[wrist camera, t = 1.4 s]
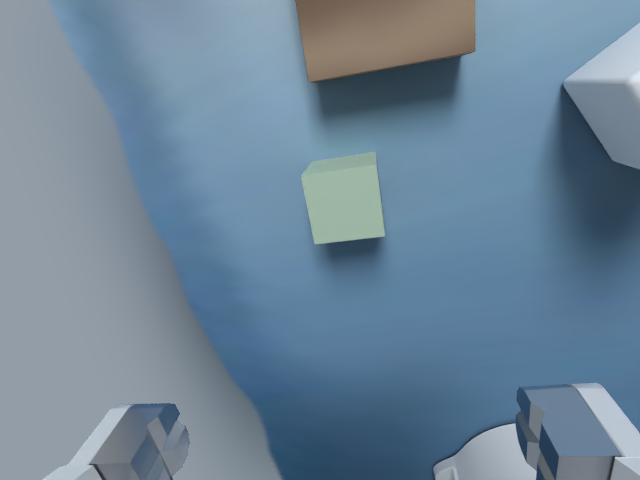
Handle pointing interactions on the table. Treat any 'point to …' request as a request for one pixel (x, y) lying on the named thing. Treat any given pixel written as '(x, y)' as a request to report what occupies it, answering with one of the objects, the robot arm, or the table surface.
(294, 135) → the table surface
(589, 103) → the medicine bottle
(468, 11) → the walnut block
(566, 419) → the robot arm
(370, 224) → the sage green block
